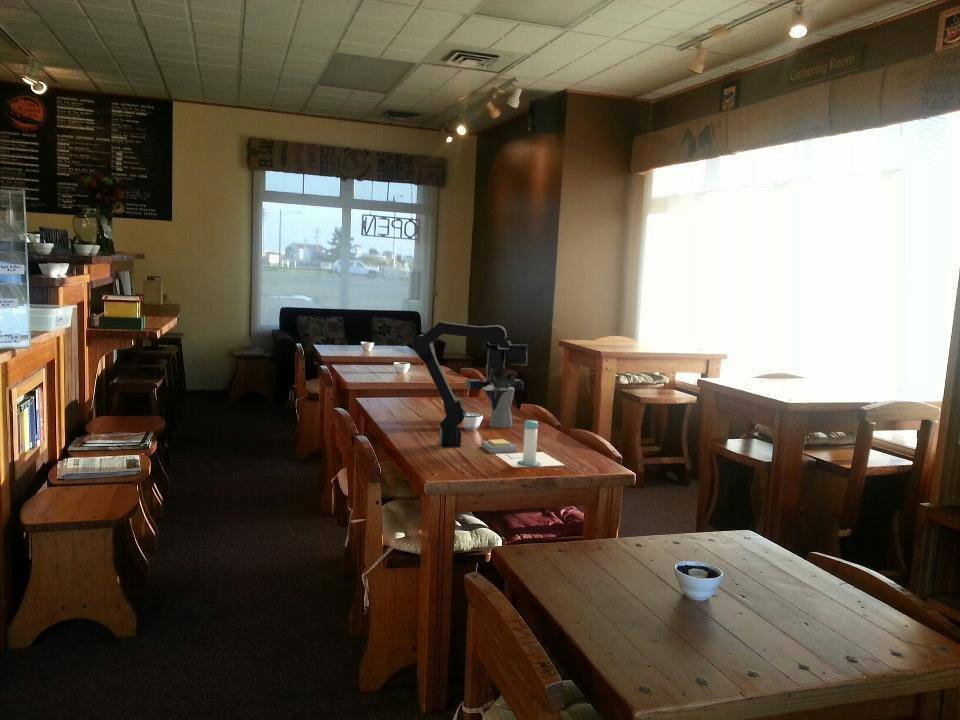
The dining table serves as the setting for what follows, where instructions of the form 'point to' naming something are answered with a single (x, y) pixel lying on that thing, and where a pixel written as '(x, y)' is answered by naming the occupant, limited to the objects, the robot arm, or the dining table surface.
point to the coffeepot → (503, 411)
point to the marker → (530, 442)
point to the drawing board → (517, 461)
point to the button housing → (498, 448)
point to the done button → (499, 442)
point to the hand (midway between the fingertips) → (493, 409)
